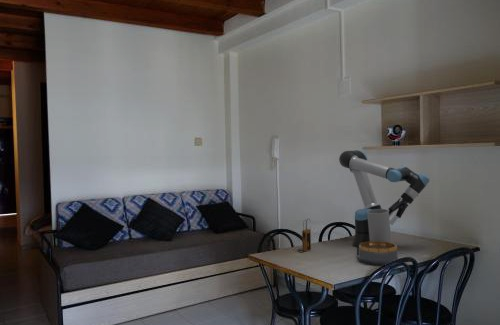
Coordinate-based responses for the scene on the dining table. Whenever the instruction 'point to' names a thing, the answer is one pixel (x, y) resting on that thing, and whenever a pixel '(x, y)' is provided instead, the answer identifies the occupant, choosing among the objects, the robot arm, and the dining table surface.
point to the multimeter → (306, 239)
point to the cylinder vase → (379, 225)
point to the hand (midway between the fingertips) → (387, 222)
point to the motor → (377, 252)
